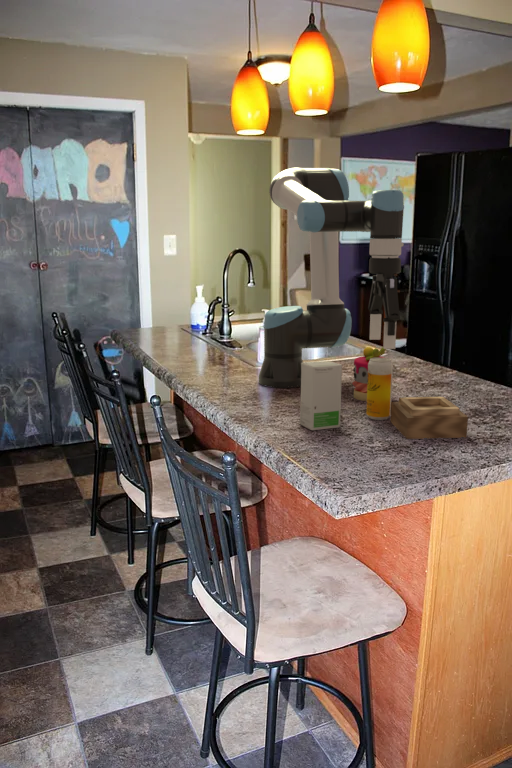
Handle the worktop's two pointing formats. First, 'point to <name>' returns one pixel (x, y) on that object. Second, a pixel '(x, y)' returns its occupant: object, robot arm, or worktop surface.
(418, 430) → the stand
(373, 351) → the cake
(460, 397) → the worktop surface
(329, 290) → the robot arm
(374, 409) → the beer can
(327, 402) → the skincare box
